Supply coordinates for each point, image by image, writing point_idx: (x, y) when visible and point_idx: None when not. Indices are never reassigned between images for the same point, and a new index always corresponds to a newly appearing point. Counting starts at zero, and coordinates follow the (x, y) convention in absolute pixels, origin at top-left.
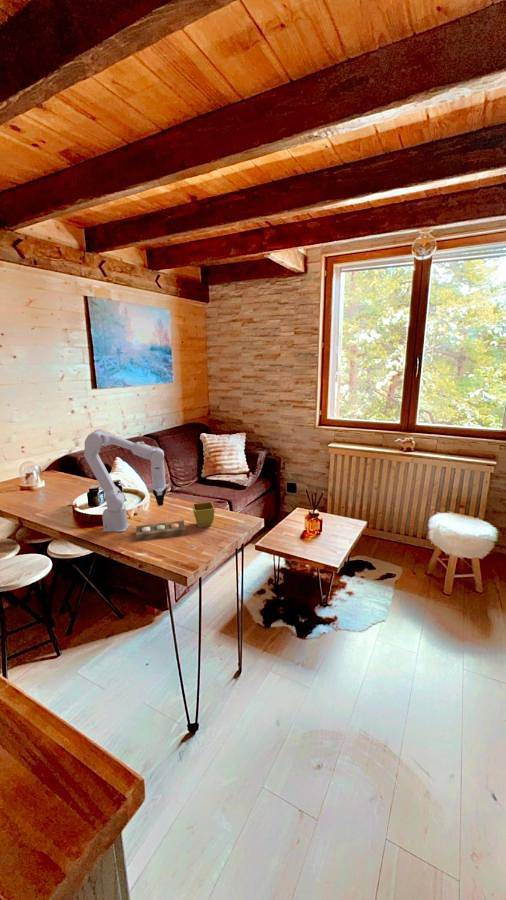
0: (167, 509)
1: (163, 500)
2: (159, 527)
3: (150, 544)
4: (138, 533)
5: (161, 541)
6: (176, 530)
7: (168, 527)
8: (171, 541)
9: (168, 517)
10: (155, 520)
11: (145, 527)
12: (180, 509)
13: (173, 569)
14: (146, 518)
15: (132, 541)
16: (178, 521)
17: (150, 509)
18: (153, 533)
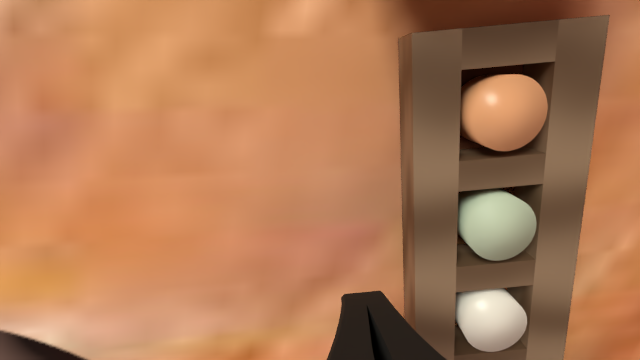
0: (23, 188)
1: (412, 330)
2: (513, 236)
3: (619, 259)
4: (542, 357)
5: (606, 197)
6: (596, 96)
7: (516, 166)
8: (635, 130)
9: (200, 171)
10: (248, 261)
11: (478, 330)
12: (17, 71)
13: None
14: (203, 322)
15: None
16: (416, 82)
17: (28, 313)
18: (571, 266)
